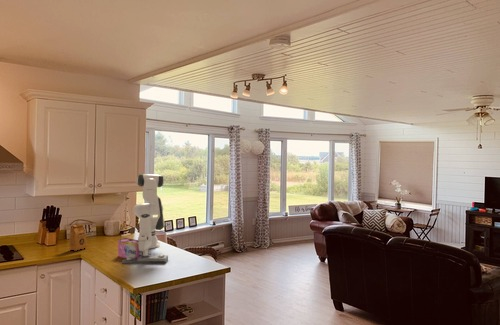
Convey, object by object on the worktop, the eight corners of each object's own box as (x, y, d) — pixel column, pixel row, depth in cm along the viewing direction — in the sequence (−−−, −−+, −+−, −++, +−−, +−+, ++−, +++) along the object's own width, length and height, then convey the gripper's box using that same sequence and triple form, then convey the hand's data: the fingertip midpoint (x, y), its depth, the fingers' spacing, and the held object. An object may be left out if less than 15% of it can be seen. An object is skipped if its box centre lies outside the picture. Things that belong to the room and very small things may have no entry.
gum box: (145, 258, 287) (145, 241, 287) (137, 260, 280) (137, 243, 280) (126, 254, 300) (126, 237, 300) (117, 256, 293) (117, 239, 293)
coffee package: (88, 248, 319) (88, 223, 319) (75, 252, 308) (75, 225, 308) (80, 247, 324) (80, 222, 324) (67, 250, 313) (67, 224, 313)
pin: (143, 259, 278) (143, 246, 278) (148, 259, 278) (148, 246, 278) (142, 261, 275) (142, 247, 275) (147, 261, 274) (147, 247, 275)
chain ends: (126, 260, 281) (126, 253, 281) (168, 260, 281) (168, 253, 281) (122, 263, 272) (122, 256, 272) (165, 263, 272) (165, 256, 272)
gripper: (145, 233, 287) (145, 251, 287) (137, 238, 266) (137, 257, 266) (153, 233, 287) (153, 251, 287) (145, 238, 266) (145, 257, 266)
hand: (145, 254), depth 276 cm, fingers closed on pin, 3 cm apart
